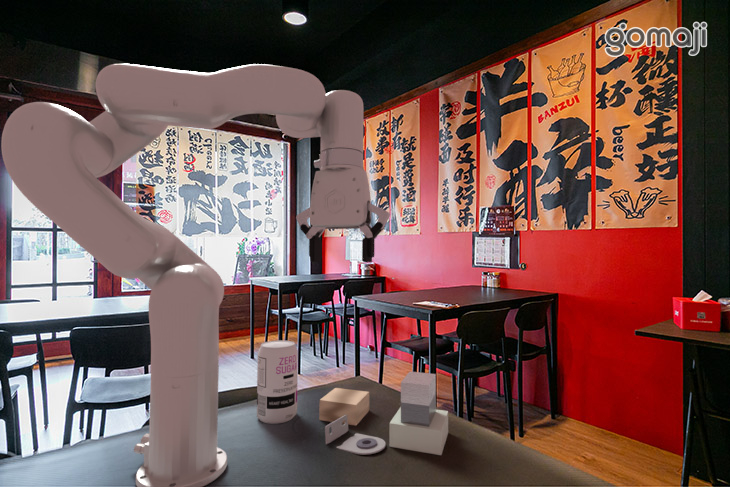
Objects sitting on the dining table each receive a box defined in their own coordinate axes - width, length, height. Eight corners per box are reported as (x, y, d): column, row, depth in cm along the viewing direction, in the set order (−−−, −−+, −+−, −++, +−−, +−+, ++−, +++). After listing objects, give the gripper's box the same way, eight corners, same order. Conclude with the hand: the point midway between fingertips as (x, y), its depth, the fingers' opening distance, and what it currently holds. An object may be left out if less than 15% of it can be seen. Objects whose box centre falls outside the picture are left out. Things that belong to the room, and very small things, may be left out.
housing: (409, 408, 74) (409, 371, 74) (435, 411, 72) (435, 374, 73) (400, 422, 68) (400, 382, 68) (429, 426, 66) (429, 385, 66)
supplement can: (269, 407, 85) (270, 338, 85) (303, 411, 83) (304, 341, 83) (248, 422, 77) (249, 346, 78) (285, 427, 75) (286, 349, 75)
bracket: (372, 462, 63) (372, 440, 63) (324, 446, 68) (324, 426, 68) (392, 446, 68) (392, 426, 68) (346, 432, 74) (346, 414, 74)
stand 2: (389, 446, 67) (389, 423, 67) (401, 425, 76) (401, 405, 76) (441, 455, 64) (441, 430, 64) (448, 432, 73) (448, 411, 73)
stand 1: (319, 419, 78) (319, 399, 78) (335, 405, 86) (335, 387, 86) (356, 425, 76) (356, 404, 76) (369, 410, 83) (369, 391, 83)
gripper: (287, 163, 67) (286, 261, 66) (382, 154, 61) (382, 262, 60) (308, 172, 74) (306, 261, 73) (394, 165, 68) (394, 262, 67)
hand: (341, 261), depth 67 cm, fingers open, 9 cm apart
